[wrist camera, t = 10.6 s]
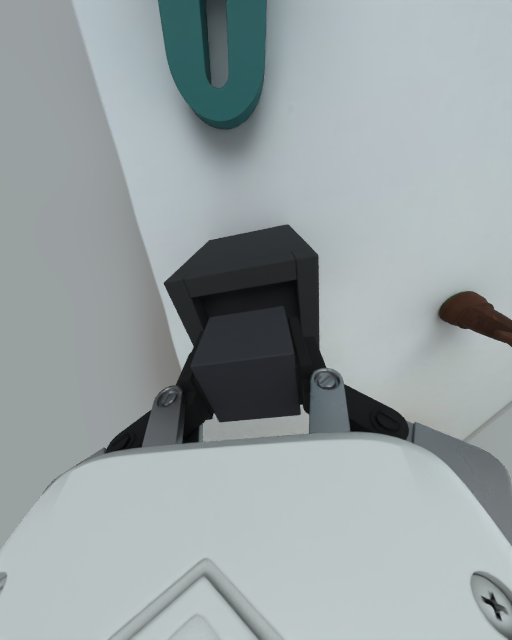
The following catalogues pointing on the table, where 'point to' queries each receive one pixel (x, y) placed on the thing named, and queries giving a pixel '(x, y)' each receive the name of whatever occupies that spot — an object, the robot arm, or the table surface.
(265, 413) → the dark grey cube
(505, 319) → the chess piece
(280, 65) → the table surface
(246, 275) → the black rectangular box
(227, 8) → the bracket
